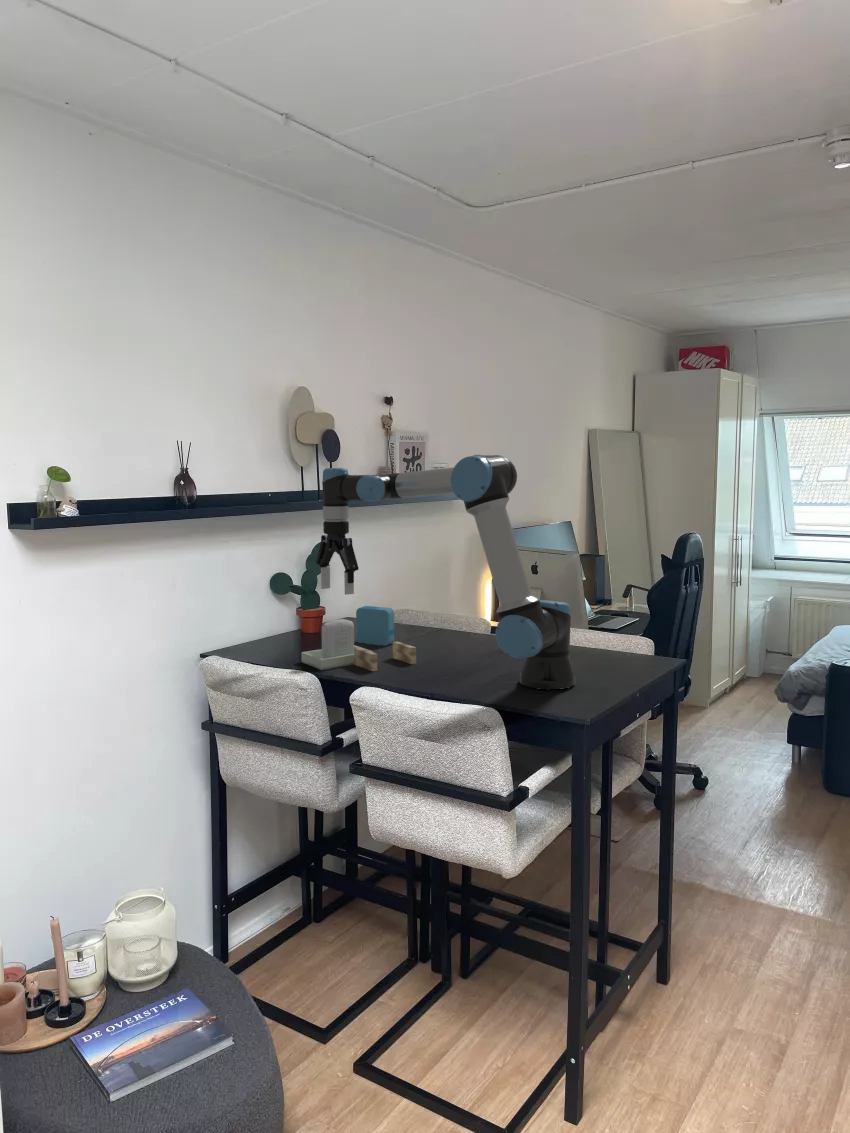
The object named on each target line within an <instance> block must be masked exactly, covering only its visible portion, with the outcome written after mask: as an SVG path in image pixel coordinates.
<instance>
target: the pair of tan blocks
mask: <svg viewBox="0 0 850 1133" xmlns="http://www.w3.org/2000/svg"><path fill="white" fill-rule="evenodd" d="M362 648H363V647H361V648H354V665H353V666H357V667H360V668H361V669H366V670H367V671H371V672H377V671H378V653H376V652H374V651H373V652H370V651H371V650H370V651H367V650H368V649H367V650H365V649H366V648H364V649H362ZM392 659H394V660H398V661H400V662H404V663H406V664H410V665H416V664H417V647H416V646H413V645H410V644H406V643H403V642H400V641H397V640H396V641H393V643H392Z"/></svg>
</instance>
